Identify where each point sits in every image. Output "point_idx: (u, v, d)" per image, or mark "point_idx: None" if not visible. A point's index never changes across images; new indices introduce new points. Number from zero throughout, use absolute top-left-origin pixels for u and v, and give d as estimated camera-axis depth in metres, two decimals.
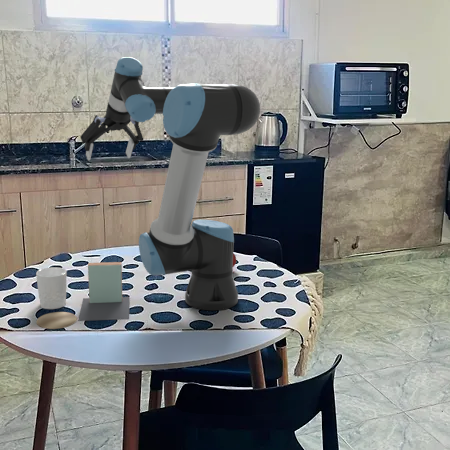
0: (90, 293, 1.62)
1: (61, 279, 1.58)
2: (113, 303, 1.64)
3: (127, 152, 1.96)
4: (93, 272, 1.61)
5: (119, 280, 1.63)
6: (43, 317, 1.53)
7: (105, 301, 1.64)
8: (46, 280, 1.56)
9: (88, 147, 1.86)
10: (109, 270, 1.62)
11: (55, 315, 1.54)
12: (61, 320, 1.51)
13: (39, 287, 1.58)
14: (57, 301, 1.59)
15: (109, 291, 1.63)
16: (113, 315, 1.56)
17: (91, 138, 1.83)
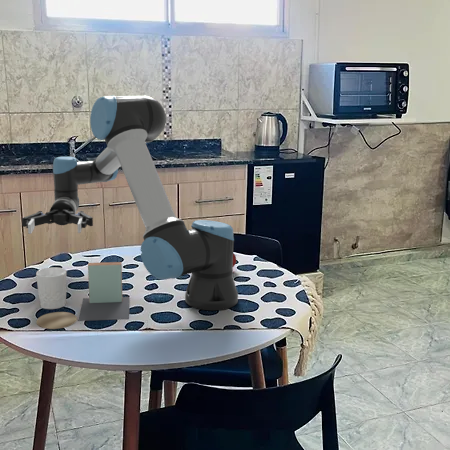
0: (90, 293, 1.62)
1: (61, 279, 1.58)
2: (113, 303, 1.64)
3: None
4: (93, 272, 1.61)
5: (119, 280, 1.63)
6: (43, 317, 1.53)
7: (105, 301, 1.64)
8: (46, 280, 1.56)
9: (29, 222, 1.70)
10: (109, 270, 1.62)
11: (55, 315, 1.54)
12: (61, 320, 1.51)
13: (39, 287, 1.58)
14: (57, 301, 1.59)
15: (109, 291, 1.63)
16: (113, 315, 1.56)
17: None
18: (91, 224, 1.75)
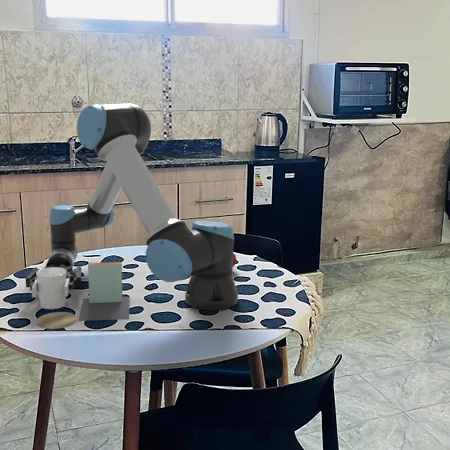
0: (90, 293, 1.62)
1: (61, 279, 1.58)
2: (113, 303, 1.64)
3: None
4: (93, 272, 1.61)
5: (119, 280, 1.63)
6: (43, 317, 1.53)
7: (105, 301, 1.64)
8: (46, 280, 1.56)
9: (33, 283, 1.60)
10: (109, 270, 1.62)
11: (55, 315, 1.54)
12: (61, 320, 1.51)
13: (39, 287, 1.58)
14: (57, 301, 1.59)
15: (109, 291, 1.63)
16: (113, 315, 1.56)
17: None
18: (79, 284, 1.64)
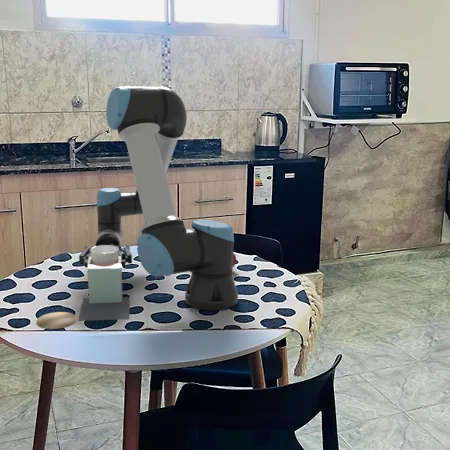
0: (90, 294, 1.62)
1: (115, 256, 1.65)
2: (113, 303, 1.64)
3: None
4: (93, 275, 1.60)
5: (119, 282, 1.62)
6: (43, 317, 1.53)
7: (105, 301, 1.64)
8: (101, 256, 1.63)
9: (87, 260, 1.66)
10: (109, 273, 1.60)
11: (55, 315, 1.54)
12: (61, 320, 1.51)
13: (93, 263, 1.64)
14: None
15: (109, 292, 1.63)
16: (113, 315, 1.56)
17: None
18: (130, 261, 1.71)
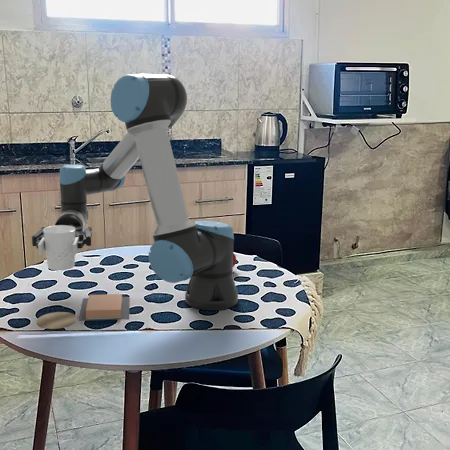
0: None
1: (70, 236, 1.48)
2: None
3: None
4: None
5: None
6: (43, 317, 1.53)
7: None
8: (54, 237, 1.46)
9: (39, 241, 1.50)
10: None
11: (55, 315, 1.54)
12: (61, 320, 1.51)
13: (46, 245, 1.48)
14: (65, 260, 1.48)
15: None
16: None
17: None
18: (88, 244, 1.54)
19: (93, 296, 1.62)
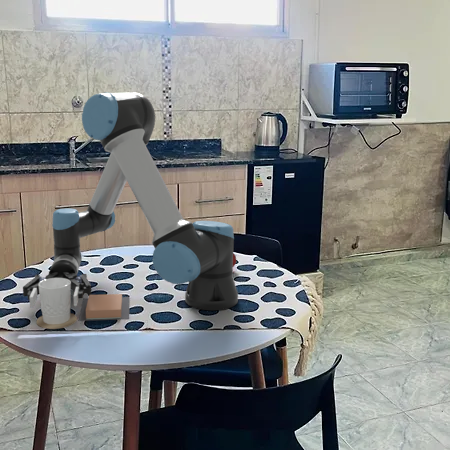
0: None
1: (65, 291, 1.48)
2: None
3: None
4: None
5: None
6: None
7: None
8: (49, 292, 1.46)
9: (31, 292, 1.49)
10: None
11: None
12: None
13: (41, 299, 1.47)
14: (61, 314, 1.48)
15: None
16: None
17: None
18: (89, 292, 1.54)
19: (93, 296, 1.62)
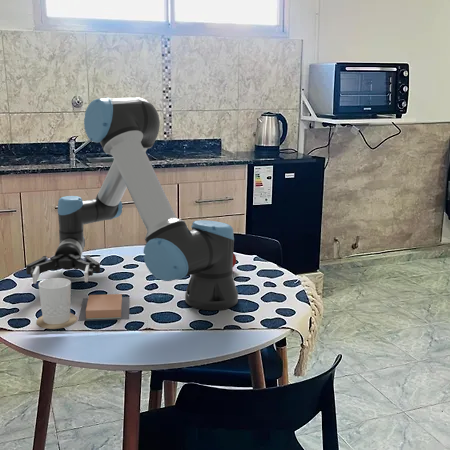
0: None
1: (65, 291, 1.48)
2: None
3: None
4: None
5: None
6: None
7: None
8: (49, 292, 1.46)
9: (33, 270, 1.62)
10: None
11: None
12: None
13: (41, 299, 1.47)
14: (61, 314, 1.48)
15: None
16: None
17: None
18: (98, 271, 1.68)
19: (93, 296, 1.62)
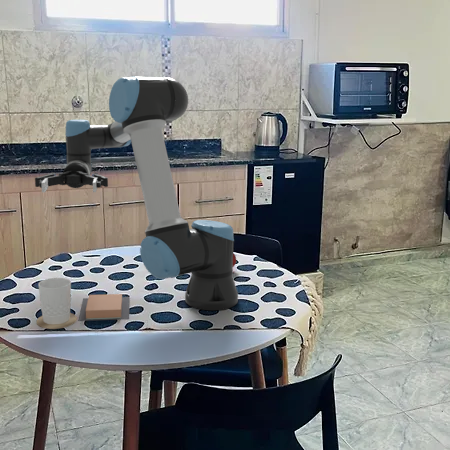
0: None
1: (65, 291, 1.48)
2: None
3: None
4: None
5: None
6: None
7: None
8: (49, 292, 1.46)
9: None
10: None
11: None
12: None
13: (41, 299, 1.47)
14: (61, 314, 1.48)
15: None
16: None
17: None
18: (106, 185, 1.70)
19: (93, 296, 1.62)
